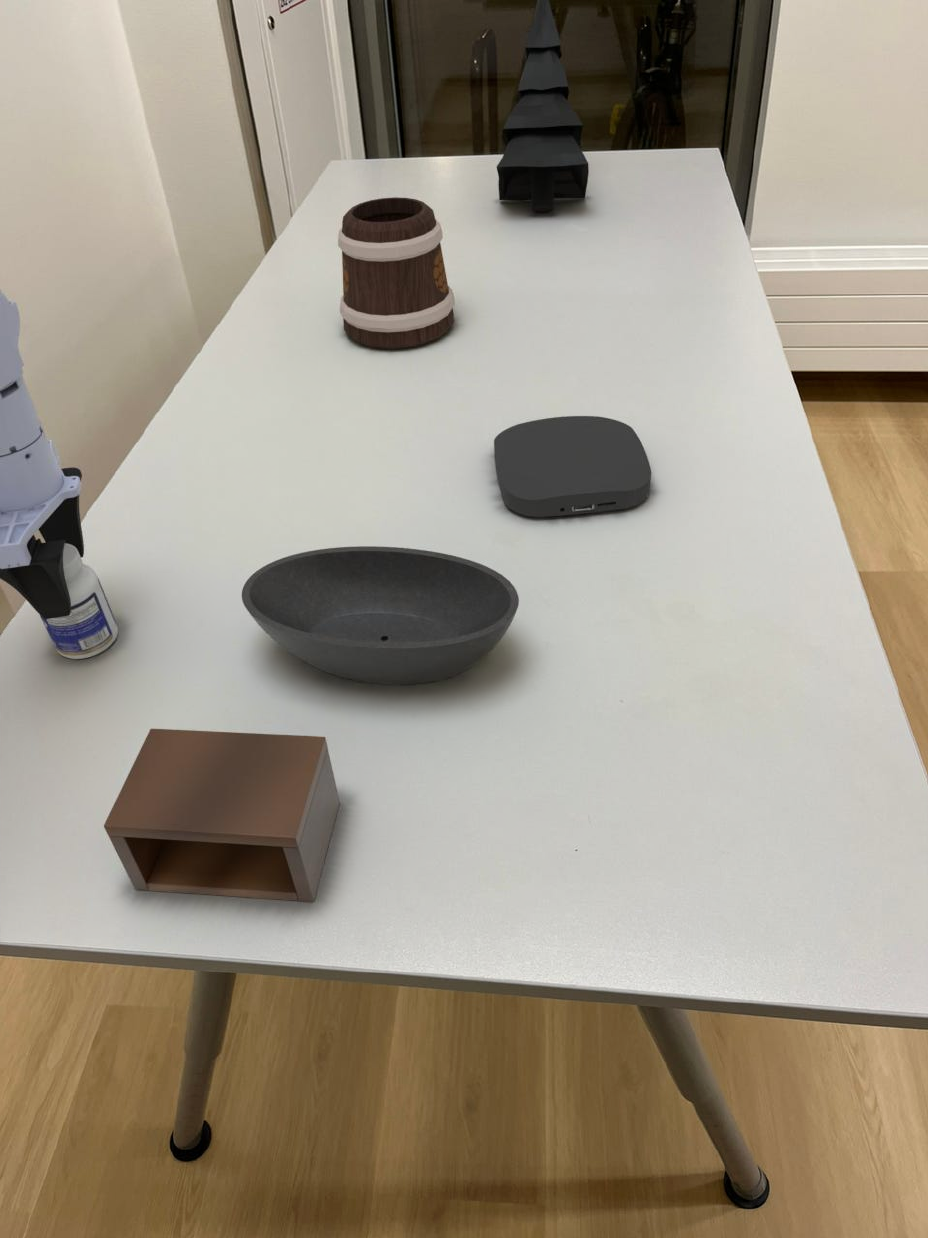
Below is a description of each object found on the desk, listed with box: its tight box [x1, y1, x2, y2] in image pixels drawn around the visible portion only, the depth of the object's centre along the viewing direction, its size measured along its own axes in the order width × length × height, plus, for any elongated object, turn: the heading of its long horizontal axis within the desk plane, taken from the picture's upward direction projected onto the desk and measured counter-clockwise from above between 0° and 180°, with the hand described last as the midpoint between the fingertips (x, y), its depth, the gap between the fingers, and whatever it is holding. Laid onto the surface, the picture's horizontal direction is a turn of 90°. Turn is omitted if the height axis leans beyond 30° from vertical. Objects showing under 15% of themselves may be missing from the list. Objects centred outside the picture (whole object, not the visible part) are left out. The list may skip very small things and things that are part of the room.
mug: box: [337, 196, 456, 350], centre depth 123 cm, size 20×15×15 cm
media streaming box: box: [493, 415, 652, 518], centre depth 95 cm, size 15×15×3 cm
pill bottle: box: [39, 543, 119, 660], centre depth 78 cm, size 5×5×9 cm
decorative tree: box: [496, 0, 590, 214], centre depth 153 cm, size 15×15×35 cm
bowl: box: [241, 545, 520, 685], centre depth 76 cm, size 12×22×6 cm, turn 79°
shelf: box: [103, 728, 341, 903], centre depth 62 cm, size 12×8×7 cm, turn 84°
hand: (64, 584), depth 77 cm, fingers open, 7 cm apart
